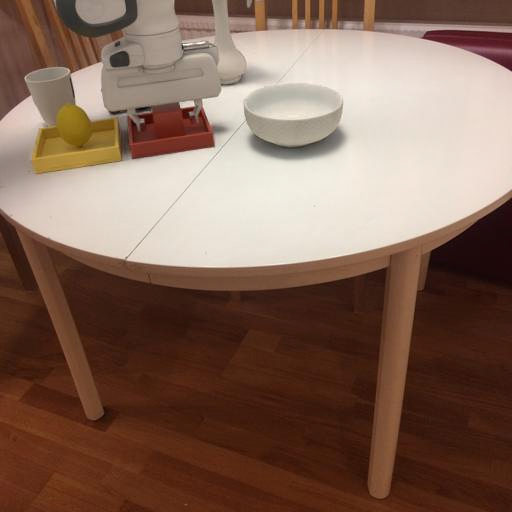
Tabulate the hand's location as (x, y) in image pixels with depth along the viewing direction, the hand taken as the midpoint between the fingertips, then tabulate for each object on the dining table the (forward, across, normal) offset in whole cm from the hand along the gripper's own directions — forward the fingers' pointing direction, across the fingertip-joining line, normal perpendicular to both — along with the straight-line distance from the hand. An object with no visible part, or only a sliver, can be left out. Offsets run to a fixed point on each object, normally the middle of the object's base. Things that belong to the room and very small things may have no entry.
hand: (168, 126), depth 94 cm
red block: (+2, 0, 0) cm, 2 cm away
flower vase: (+2, -16, -26) cm, 31 cm away
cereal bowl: (+2, -21, +8) cm, 23 cm away
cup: (+2, +20, -13) cm, 24 cm away
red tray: (+2, 0, 0) cm, 2 cm away
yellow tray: (+2, +16, 0) cm, 16 cm away
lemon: (+2, +16, 0) cm, 16 cm away
